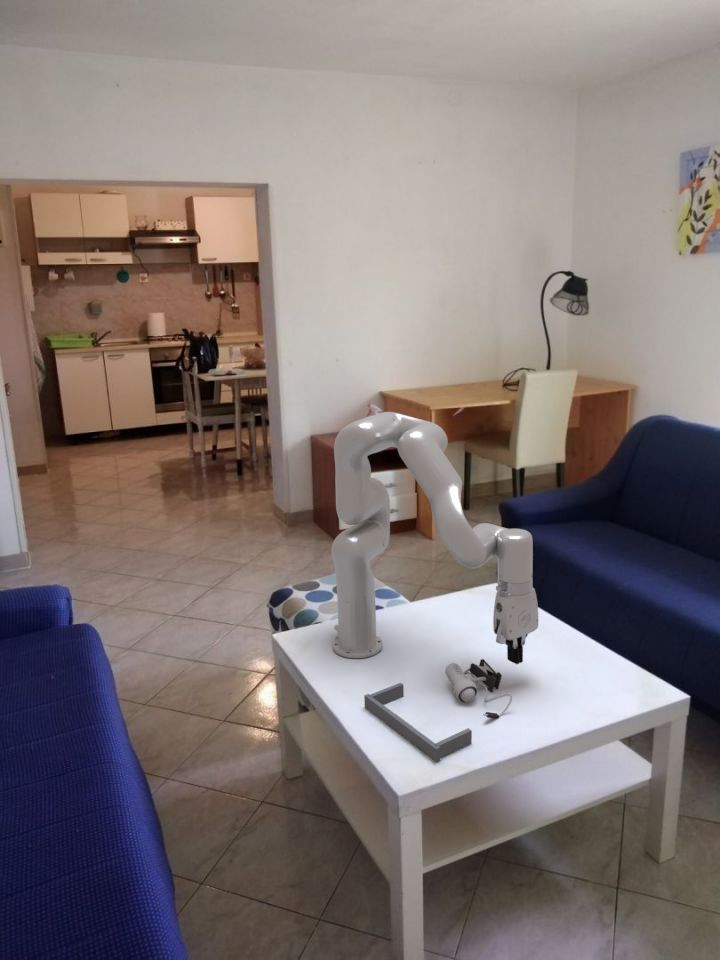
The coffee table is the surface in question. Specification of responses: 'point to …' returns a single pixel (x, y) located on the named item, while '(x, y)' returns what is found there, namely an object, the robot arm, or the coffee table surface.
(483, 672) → the clip-on lamp
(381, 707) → the grey u-shaped handle
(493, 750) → the coffee table surface
